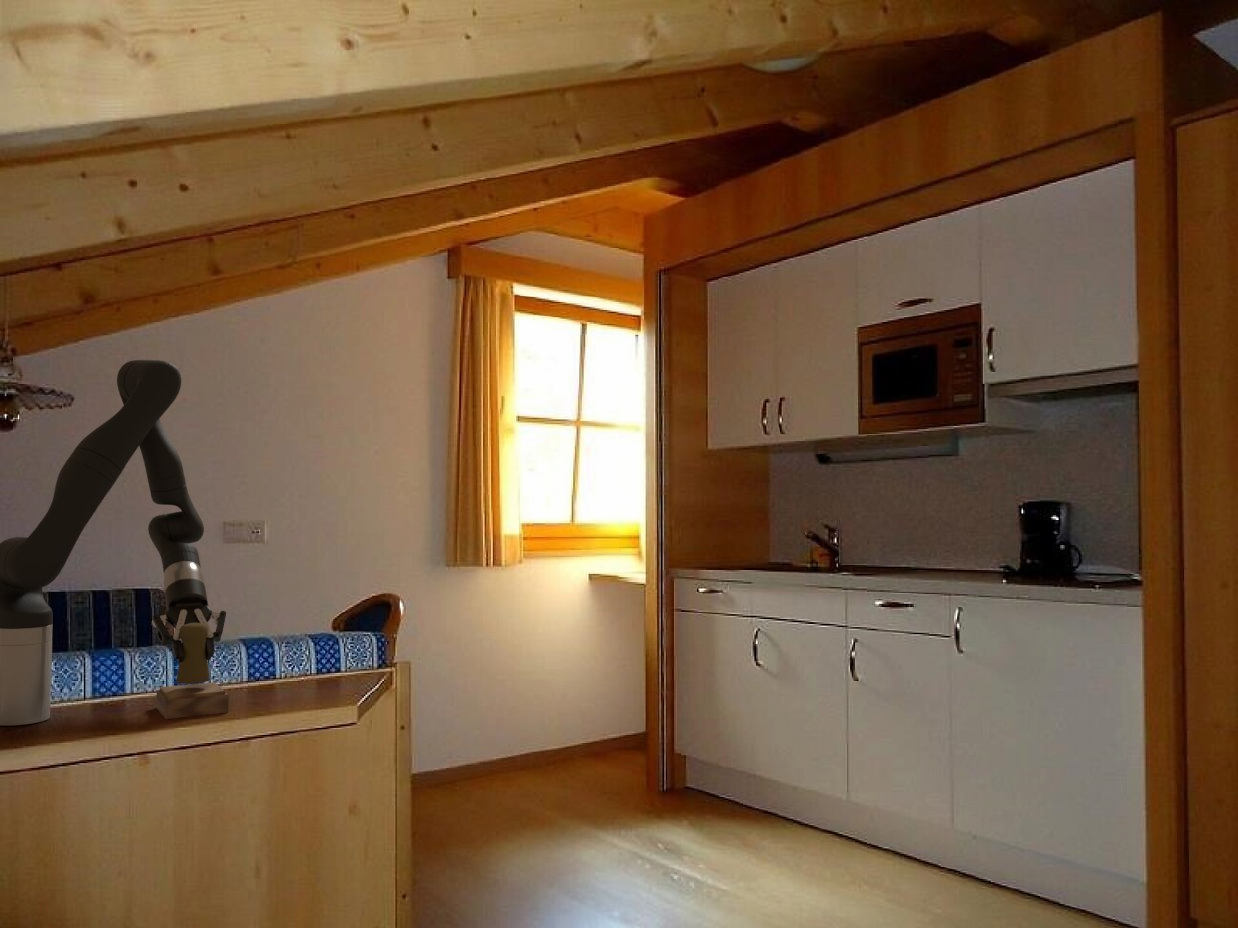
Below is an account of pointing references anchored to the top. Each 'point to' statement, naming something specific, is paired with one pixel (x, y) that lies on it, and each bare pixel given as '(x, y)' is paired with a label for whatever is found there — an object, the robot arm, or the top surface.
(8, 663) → the robot arm
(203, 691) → the plinth
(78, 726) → the top surface
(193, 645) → the cork
